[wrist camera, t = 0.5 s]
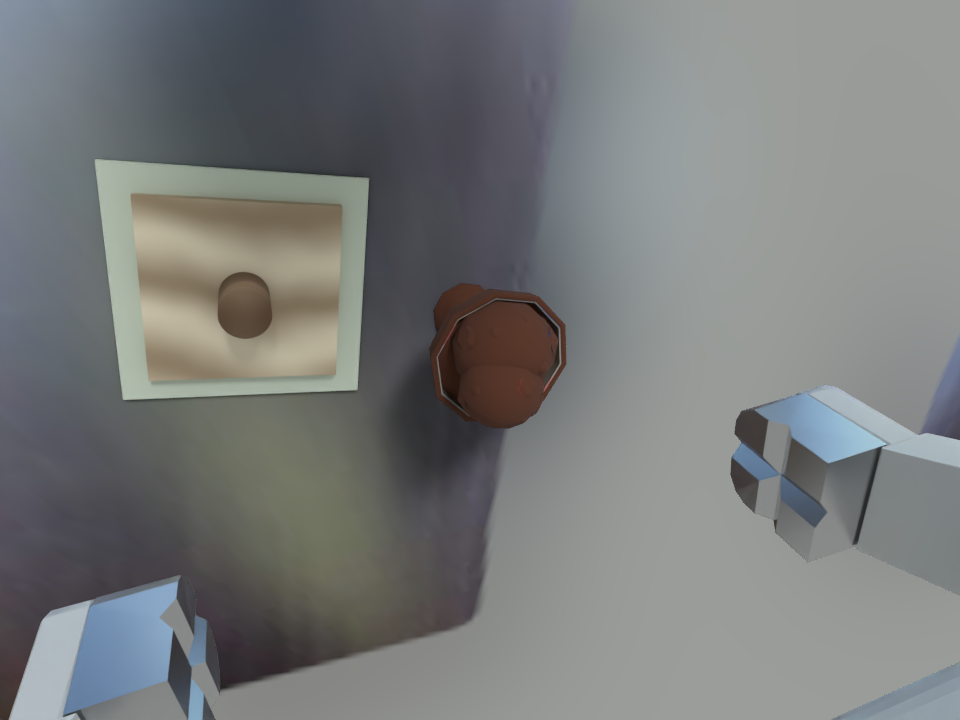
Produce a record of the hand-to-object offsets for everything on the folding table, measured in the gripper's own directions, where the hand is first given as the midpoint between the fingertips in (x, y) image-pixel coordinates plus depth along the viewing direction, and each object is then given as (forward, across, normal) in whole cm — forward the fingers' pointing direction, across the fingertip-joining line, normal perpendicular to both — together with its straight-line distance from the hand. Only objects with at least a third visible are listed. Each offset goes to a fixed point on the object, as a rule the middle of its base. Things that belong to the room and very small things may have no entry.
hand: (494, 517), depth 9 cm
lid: (+43, +6, +11) cm, 45 cm away
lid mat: (+43, +6, +11) cm, 45 cm away
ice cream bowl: (+44, -11, +17) cm, 48 cm away
